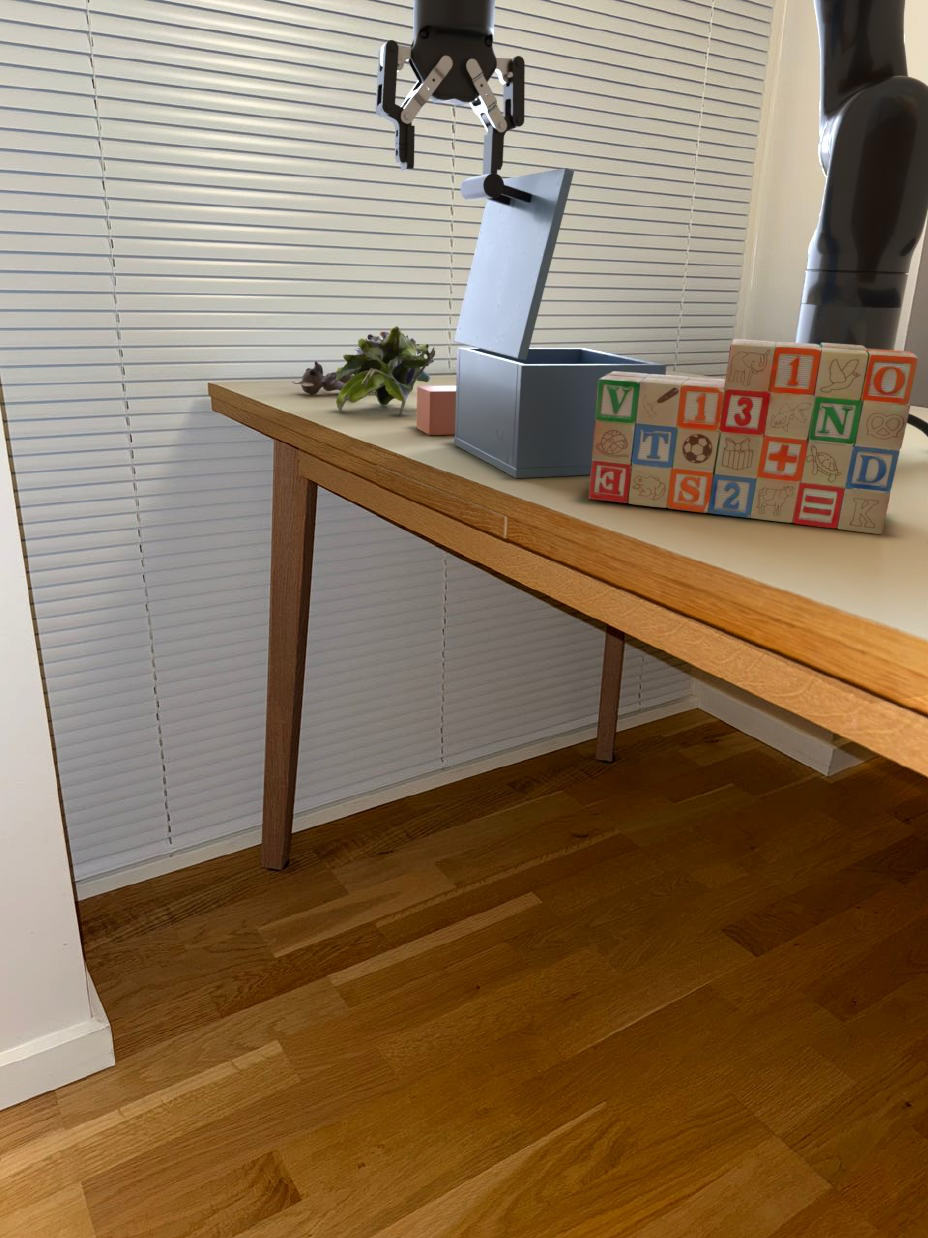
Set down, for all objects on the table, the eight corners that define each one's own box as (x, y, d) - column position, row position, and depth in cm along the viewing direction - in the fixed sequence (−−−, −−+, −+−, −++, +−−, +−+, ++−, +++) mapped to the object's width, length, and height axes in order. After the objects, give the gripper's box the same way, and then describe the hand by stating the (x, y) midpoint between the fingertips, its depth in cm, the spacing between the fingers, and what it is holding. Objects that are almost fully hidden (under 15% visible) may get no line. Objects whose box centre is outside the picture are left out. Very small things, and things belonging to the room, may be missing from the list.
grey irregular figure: (427, 376, 120) (321, 366, 113) (424, 409, 121) (318, 402, 114) (373, 361, 135) (276, 352, 128) (371, 391, 136) (274, 384, 129)
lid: (498, 183, 85) (446, 165, 83) (574, 170, 72) (514, 149, 69) (461, 343, 89) (410, 330, 87) (526, 360, 76) (468, 345, 73)
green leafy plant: (382, 449, 117) (426, 367, 118) (420, 448, 108) (467, 359, 109) (308, 399, 112) (354, 314, 113) (341, 394, 102) (391, 301, 103)
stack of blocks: (586, 501, 72) (599, 335, 67) (601, 485, 77) (615, 330, 73) (884, 534, 66) (921, 353, 61) (878, 514, 71) (911, 347, 67)
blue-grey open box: (577, 440, 97) (584, 348, 94) (655, 471, 83) (666, 364, 80) (454, 444, 92) (457, 347, 89) (515, 478, 79) (521, 365, 76)
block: (455, 427, 102) (456, 385, 101) (469, 434, 98) (471, 390, 97) (416, 428, 101) (416, 385, 99) (429, 435, 97) (430, 391, 95)
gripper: (391, -46, 79) (389, 165, 85) (543, -23, 84) (531, 175, 90) (368, -24, 86) (368, 170, 92) (511, -4, 90) (502, 180, 96)
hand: (449, 173), depth 91 cm, fingers open, 8 cm apart
